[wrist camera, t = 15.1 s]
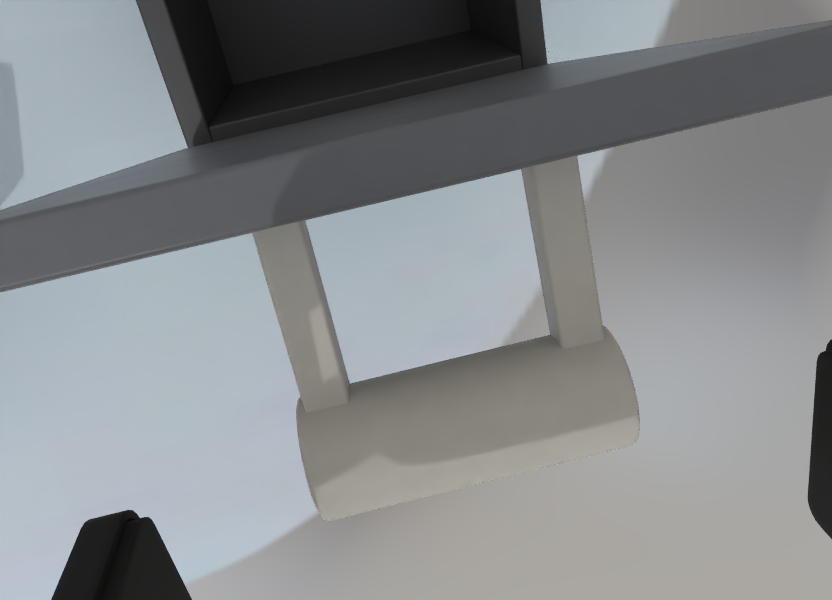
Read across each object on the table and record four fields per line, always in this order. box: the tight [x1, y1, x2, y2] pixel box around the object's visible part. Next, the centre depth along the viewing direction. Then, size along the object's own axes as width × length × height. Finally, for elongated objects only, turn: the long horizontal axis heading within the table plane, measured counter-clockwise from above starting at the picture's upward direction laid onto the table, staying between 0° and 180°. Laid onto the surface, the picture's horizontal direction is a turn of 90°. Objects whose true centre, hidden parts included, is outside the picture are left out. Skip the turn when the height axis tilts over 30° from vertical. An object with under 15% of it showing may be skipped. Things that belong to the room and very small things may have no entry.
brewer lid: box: [0, 20, 832, 521], centre depth 16 cm, size 14×12×6 cm
